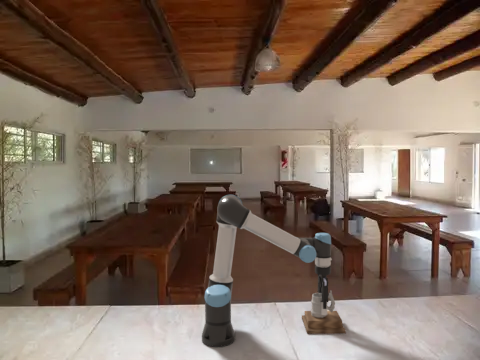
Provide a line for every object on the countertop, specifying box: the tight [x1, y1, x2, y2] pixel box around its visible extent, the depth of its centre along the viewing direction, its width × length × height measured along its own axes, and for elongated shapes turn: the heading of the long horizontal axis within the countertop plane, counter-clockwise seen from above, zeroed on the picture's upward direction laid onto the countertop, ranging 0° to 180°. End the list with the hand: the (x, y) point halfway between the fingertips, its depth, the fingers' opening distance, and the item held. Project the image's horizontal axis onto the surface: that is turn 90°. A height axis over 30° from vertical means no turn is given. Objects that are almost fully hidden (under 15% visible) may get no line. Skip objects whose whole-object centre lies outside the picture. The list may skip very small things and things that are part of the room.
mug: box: [310, 289, 336, 318], centre depth 202 cm, size 8×12×12 cm, turn 93°
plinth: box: [301, 310, 347, 335], centre depth 202 cm, size 18×18×5 cm
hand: (322, 311), depth 202 cm, fingers closed on mug, 7 cm apart
